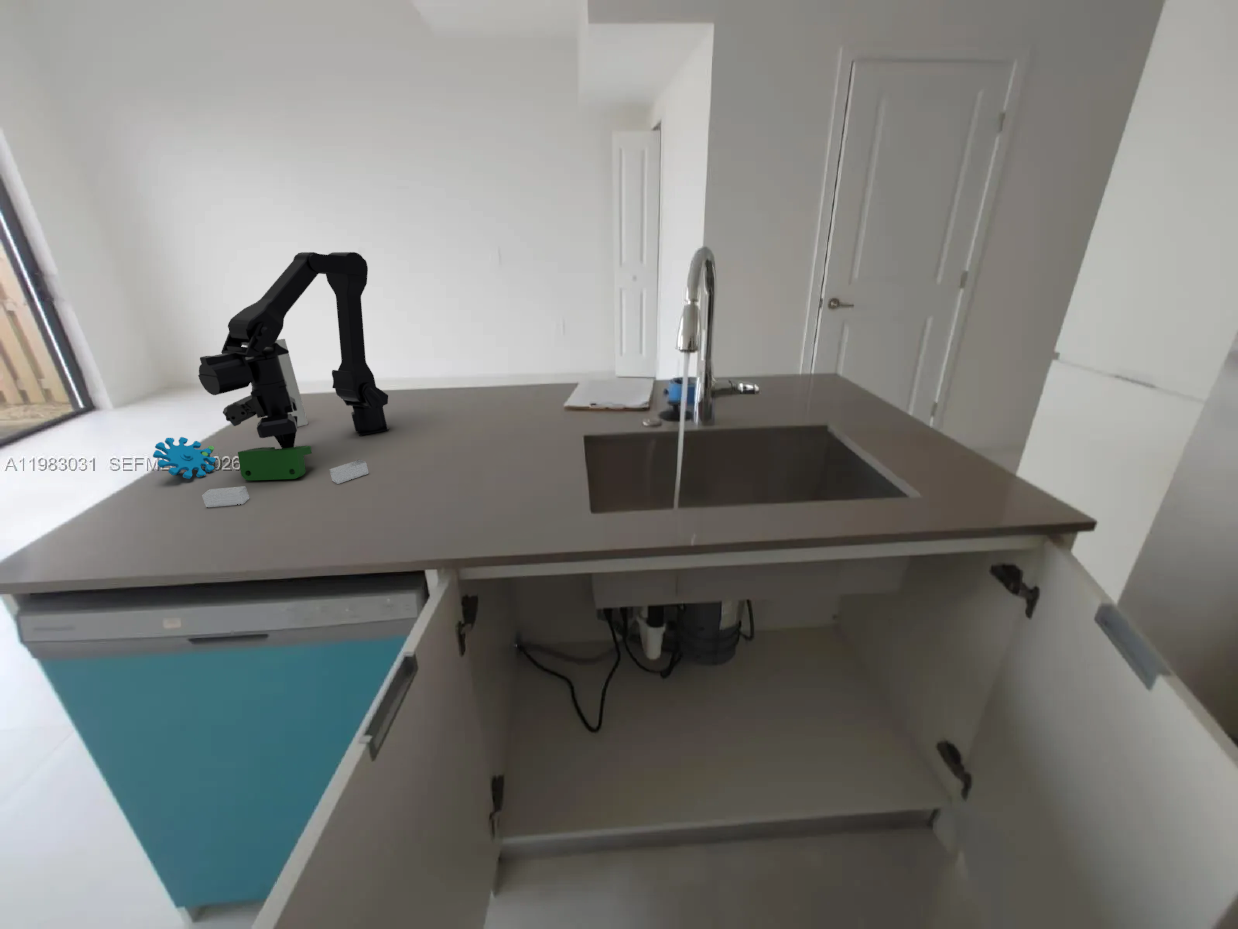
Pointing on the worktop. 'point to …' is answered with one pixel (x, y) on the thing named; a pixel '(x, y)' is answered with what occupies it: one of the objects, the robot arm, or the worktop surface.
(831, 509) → the worktop surface
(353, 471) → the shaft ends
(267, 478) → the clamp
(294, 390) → the paper towel roll
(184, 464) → the gear
